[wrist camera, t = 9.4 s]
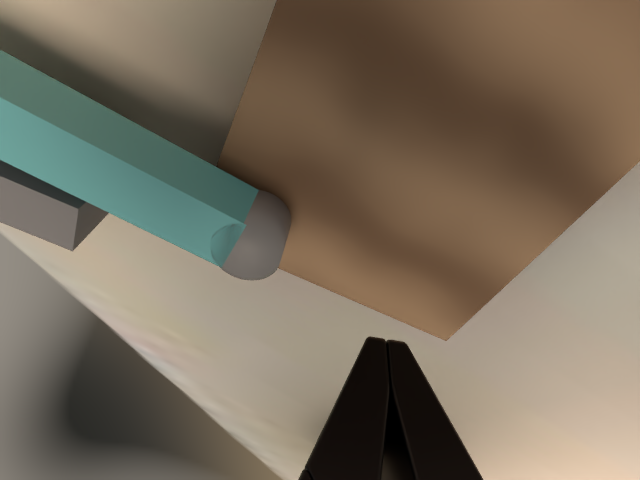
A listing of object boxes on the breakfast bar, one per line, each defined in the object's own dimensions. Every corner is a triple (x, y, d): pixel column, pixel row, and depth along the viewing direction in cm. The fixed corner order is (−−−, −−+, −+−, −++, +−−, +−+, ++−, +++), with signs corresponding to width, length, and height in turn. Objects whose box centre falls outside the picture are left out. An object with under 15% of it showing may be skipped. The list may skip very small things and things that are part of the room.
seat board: (441, 313, 24) (446, 340, 22) (206, 208, 21) (192, 230, 20) (851, -98, 12) (923, -103, 11) (446, -431, 10) (459, -502, 8)
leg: (302, 210, 18) (293, 245, 16) (274, 253, 19) (262, 290, 17) (-103, -11, 14) (-180, -1, 12) (-98, 63, 16) (-166, 82, 14)
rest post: (123, 196, 21) (72, 251, 18) (1, 143, 20) (-80, 190, 17) (132, 158, 20) (78, 209, 16) (1, 99, 19) (-87, 139, 15)
